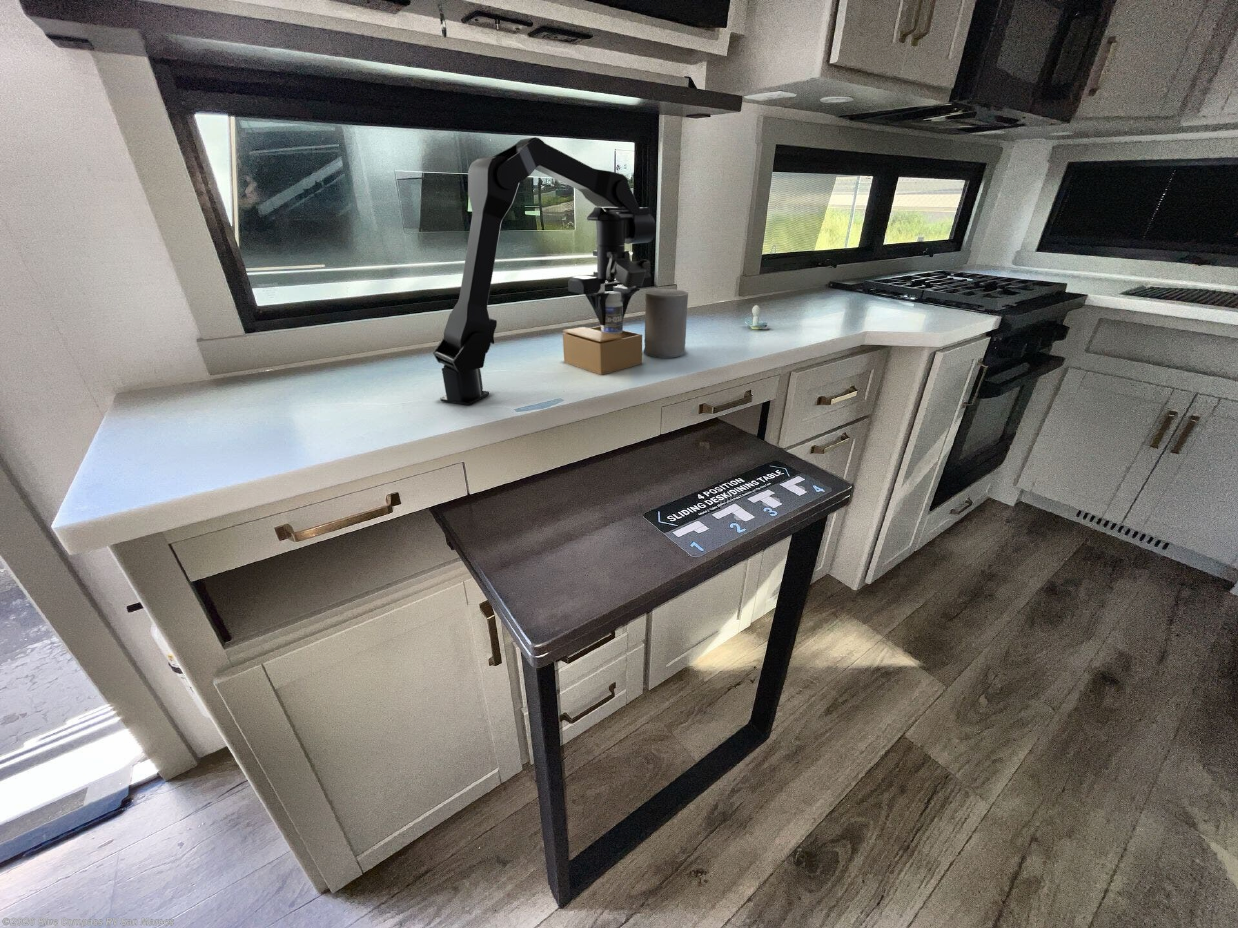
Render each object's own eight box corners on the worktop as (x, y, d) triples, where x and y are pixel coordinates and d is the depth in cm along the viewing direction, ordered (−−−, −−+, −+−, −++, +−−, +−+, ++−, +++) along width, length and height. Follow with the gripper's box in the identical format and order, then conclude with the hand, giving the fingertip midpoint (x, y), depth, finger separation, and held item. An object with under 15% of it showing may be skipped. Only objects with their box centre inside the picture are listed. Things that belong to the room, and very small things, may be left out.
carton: (600, 375, 104) (600, 344, 101) (564, 362, 113) (562, 333, 110) (641, 363, 111) (642, 334, 108) (604, 352, 120) (603, 325, 117)
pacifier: (759, 325, 145) (741, 326, 143) (762, 302, 142) (744, 303, 140) (774, 330, 139) (756, 331, 137) (778, 307, 136) (760, 308, 134)
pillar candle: (635, 352, 119) (636, 286, 113) (663, 345, 125) (665, 281, 118) (666, 361, 113) (668, 291, 106) (694, 352, 119) (698, 286, 112)
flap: (600, 342, 101) (600, 340, 101) (562, 331, 110) (562, 330, 110) (621, 338, 105) (621, 336, 105) (583, 328, 113) (583, 326, 113)
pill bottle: (604, 335, 108) (603, 295, 104) (599, 331, 112) (598, 291, 108) (625, 334, 109) (625, 293, 105) (619, 329, 113) (619, 290, 109)
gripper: (601, 250, 92) (602, 336, 99) (671, 245, 103) (668, 322, 110) (564, 247, 99) (568, 327, 106) (633, 242, 110) (633, 315, 117)
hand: (611, 323), depth 110 cm, fingers closed on pill bottle, 5 cm apart
